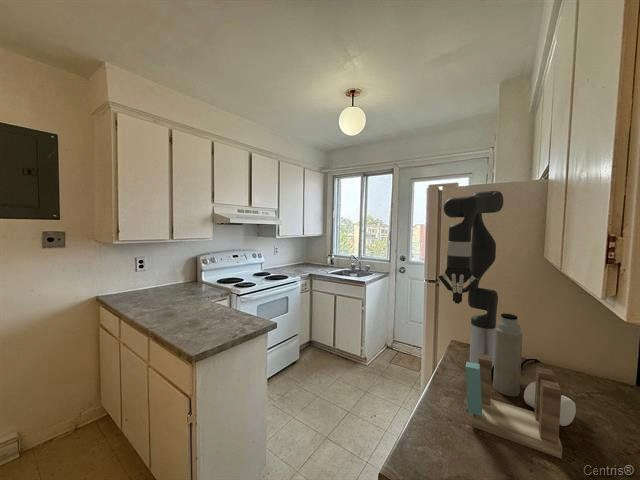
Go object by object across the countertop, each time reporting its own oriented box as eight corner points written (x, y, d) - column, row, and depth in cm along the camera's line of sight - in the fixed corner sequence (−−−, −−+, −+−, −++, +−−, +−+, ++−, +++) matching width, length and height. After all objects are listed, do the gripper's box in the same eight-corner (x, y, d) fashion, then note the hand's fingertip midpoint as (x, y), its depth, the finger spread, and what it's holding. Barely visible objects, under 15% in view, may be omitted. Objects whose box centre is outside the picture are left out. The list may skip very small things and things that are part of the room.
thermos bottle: (519, 388, 98) (523, 314, 97) (519, 399, 92) (523, 320, 91) (493, 380, 103) (497, 310, 102) (492, 390, 97) (495, 315, 95)
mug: (556, 428, 79) (558, 402, 78) (522, 406, 88) (524, 383, 88) (584, 421, 82) (586, 396, 82) (549, 400, 92) (550, 378, 91)
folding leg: (467, 406, 84) (464, 361, 83) (482, 409, 81) (479, 363, 81) (466, 412, 80) (463, 366, 80) (482, 416, 78) (479, 369, 78)
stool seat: (474, 402, 90) (476, 352, 89) (551, 427, 79) (554, 369, 78) (472, 426, 79) (475, 369, 78) (561, 458, 68) (565, 392, 68)
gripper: (481, 254, 92) (479, 303, 93) (440, 252, 99) (438, 297, 100) (480, 256, 86) (478, 309, 87) (436, 254, 93) (435, 302, 94)
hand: (457, 302), depth 94 cm, fingers closed
